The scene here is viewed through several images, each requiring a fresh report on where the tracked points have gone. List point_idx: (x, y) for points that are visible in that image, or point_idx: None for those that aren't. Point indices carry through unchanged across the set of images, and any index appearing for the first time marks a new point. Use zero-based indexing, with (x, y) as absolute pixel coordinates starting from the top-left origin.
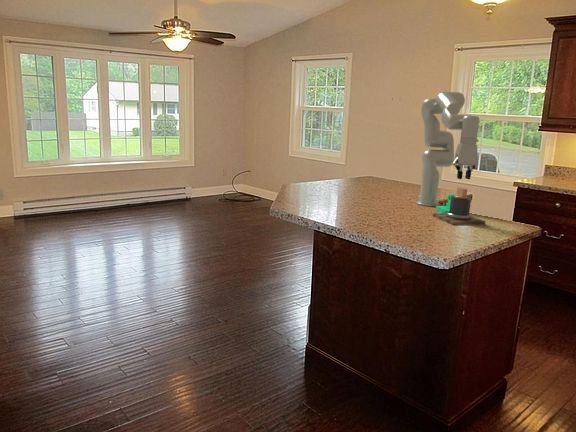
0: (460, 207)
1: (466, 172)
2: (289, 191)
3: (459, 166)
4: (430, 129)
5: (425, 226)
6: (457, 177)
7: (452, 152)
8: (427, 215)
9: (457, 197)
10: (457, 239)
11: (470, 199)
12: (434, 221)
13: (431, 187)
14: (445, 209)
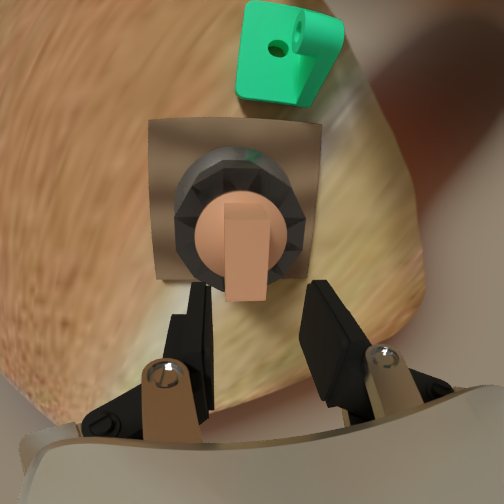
0: None
1: (331, 338)
2: None
3: (181, 430)
4: None
5: (60, 283)
6: (191, 290)
7: None
8: (135, 105)
9: (200, 253)
10: (114, 391)
11: (275, 280)
12: (111, 217)
13: None
14: (248, 71)
